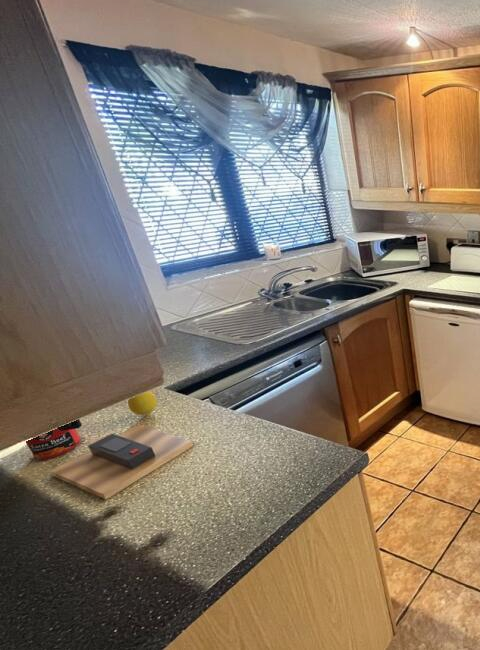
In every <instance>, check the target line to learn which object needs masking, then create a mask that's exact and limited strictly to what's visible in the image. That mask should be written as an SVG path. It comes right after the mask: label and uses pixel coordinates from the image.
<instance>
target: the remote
mask: <svg viewBox="0 0 480 650" xmlns="http://www.w3.org/2000/svg"><path fill="white" fill-rule="evenodd" d="M87 447H88V449H89V451H91V453H92V454H93V455H95V456H98V457H100V458H103V459H106V460H108V461H111V462H113V463H116V464H118V465H121V466H124V467H126V468H129V469H131V470H132V469H134V468H136V467H137V466H139V465H141V464H142V463H144V462H146V461H148V460H149V459H151V458H153V457H154V456H155V454H154V452H153V449H152V447H150V446H147V445H144V444H141V443H138V442H135V441H132V440H130V439H127V438H124V437H121V436H119V435H118V434H116V433H110V434H107V435H106V436H105V437H101V438H100V439H99V440H96V441H95V442H92V443H90V444H89V445H88V446H87Z"/></svg>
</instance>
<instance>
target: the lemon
mask: <svg viewBox="0 0 480 650" xmlns="http://www.w3.org/2000/svg"><path fill="white" fill-rule="evenodd" d="M147 391H148V392H146V393H143V394H141V395H138V396H136V397H134V398H131V399H129V400H128V399H127V405H128V408H129V410H130V411H131V412H132V413H133V414H135V415H139V416H148V415H150V414H151V413H152V412H153V411H154V410H156V407H157V404H158V402H157V401H158V400H157V397H156V396H155V394H154V393H152V391H150V390H147Z"/></svg>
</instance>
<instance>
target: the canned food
mask: <svg viewBox="0 0 480 650" xmlns="http://www.w3.org/2000/svg"><path fill="white" fill-rule="evenodd" d="M80 442H81V437H80V435H79V433H78V431H77V429H70V430H64V431H60V430H59V429H58V428H57V429H55V430H52V431H50V432H48V433H45V434H42V435H40V436H38V437H36V438H33V439H31V440H28V441H26V442H25V444H26V446H27V447H28V449H29V451H30V452H31V454H32V456H33V457H34V458H36V459H38V460H48V459H53V458H56V457H58V456H59V457H60V456H61V455H63V454H66V453H68V452H70V451H71V450H74V448H76V446H78V445H79V444H80Z"/></svg>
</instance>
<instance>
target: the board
mask: <svg viewBox="0 0 480 650" xmlns="http://www.w3.org/2000/svg"><path fill="white" fill-rule="evenodd" d="M118 436H121V437H124V438H127V439H130V440H132V441H135V442H138V443H141V444H144V445H147V446H150V447H152V449H153V452H154V454H155V456H154V457H153V458H151V459H149V460H148V461H146V462H144V463H142V464H141V465H139V466H137V467H136V468H134V469H132V470H131V469H129V468H126V467H124V466H121V465H118V464H116V463H113V462H111V461H108V460H106V459H103V458H100V457H98V456H95V455H93V454H92V453H91V451H90V450H88V451H86V452H84V453H81V454H80V455H78V456H76V457H74V458H72V459H70V460H68V461H66V462H64V463H62V464H60V465H58V466H56V467H54V468H52V469H51V470H49V471H50V474H51V475H52V477H55V478H56V479H59V480H61V481H63V482H65V483H68V484H70V485H72V486H74V487H77V488H79V489H81V490H84V491H86V492H88V493H90V494H92V495H95V496H97V497H99V498H102V499H103V500H108V499H109V498H111V497H113V496H115V495H116V494H117V493H119V492H121V491H123V490H124V489H125V488H128V487H129V486H130V485H133V484H134V483H135V482H137V481H138V480H141V479H142V478H143V477H145V476H147V475H148V474H150V473H151V472H153V471H155V470H156V469H158V468H160V467H161V466H163V465H164V464H166V463H168V462H169V461H171V460H173V459H174V458H176V457H178V456H180V455H181V454H182V453H184V452H186V451H187V450H189V449H191V448H192V447H194V445H193V442H192V440H189V439H186V438H182V437H180V436H176V435H174V434H173V435H172V434H170V433H167V432H164V431H162V430H158V429H155V428H152V427H149V426H146V425H143V424H138V425H136V426H134V427H132V428H131V429H129V430H127V431H125V432H123V433H121V434H119V435H118Z"/></svg>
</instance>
